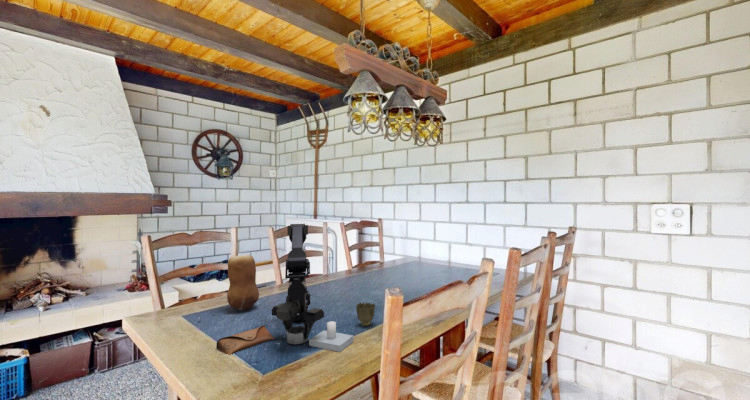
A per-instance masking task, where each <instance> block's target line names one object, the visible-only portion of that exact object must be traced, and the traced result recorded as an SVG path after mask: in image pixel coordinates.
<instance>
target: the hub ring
mask: <svg viewBox="0 0 750 400" xmlns="http://www.w3.org/2000/svg"><path fill="white" fill-rule="evenodd" d="M286 340H287V341H286V342H287V344H291V345H301V344H304V343H306V342H309V337H308V338H307V339H305V335H304V325H296V326H292V327H291V328H289V329H287V332H286Z"/></svg>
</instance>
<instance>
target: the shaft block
mask: <svg viewBox="0 0 750 400" xmlns="http://www.w3.org/2000/svg"><path fill="white" fill-rule="evenodd" d="M353 342H354V335H353V334H347V333H340V332H337V322H336V321H333V320H332V321H328V322H326V330H322V331H321V332H319V333H318V334H316V335H314V336H313V337H311V338H310V339H309V338H308V345H309V346H310V347H315V348H317V349H318V348H319V349H323V350H329V351H332V352H338V353H340V352H342V351H344V350H345V348H347V347H348V346H349V345H350V344H352V343H353Z"/></svg>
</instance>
